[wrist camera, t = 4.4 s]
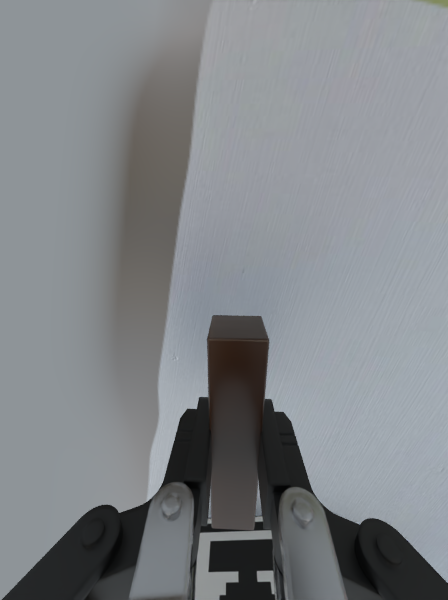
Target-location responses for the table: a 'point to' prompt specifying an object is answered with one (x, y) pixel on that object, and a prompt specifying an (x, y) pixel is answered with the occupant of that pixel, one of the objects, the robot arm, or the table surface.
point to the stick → (236, 416)
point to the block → (235, 564)
